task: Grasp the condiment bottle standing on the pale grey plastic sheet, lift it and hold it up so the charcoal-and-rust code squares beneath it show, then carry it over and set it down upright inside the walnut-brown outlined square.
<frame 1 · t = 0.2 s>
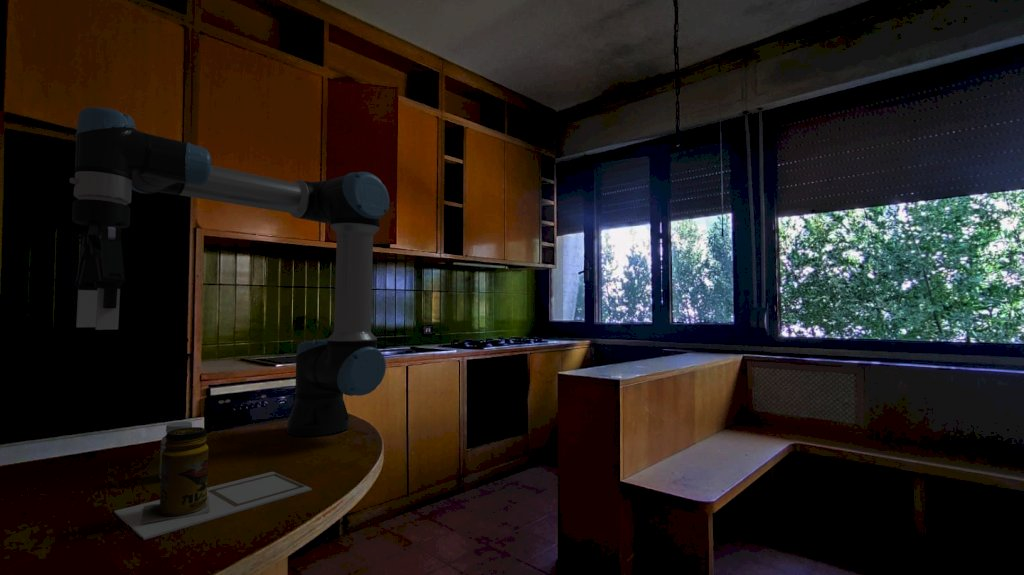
hand: (96, 328, 82), 28 cm above the table, tool pointing down, fingers open, 13 cm apart
condiment: (176, 511, 75), resting on code sheet
supplement bottle: (176, 477, 92), on the table
code sheet: (219, 500, 80), on the table
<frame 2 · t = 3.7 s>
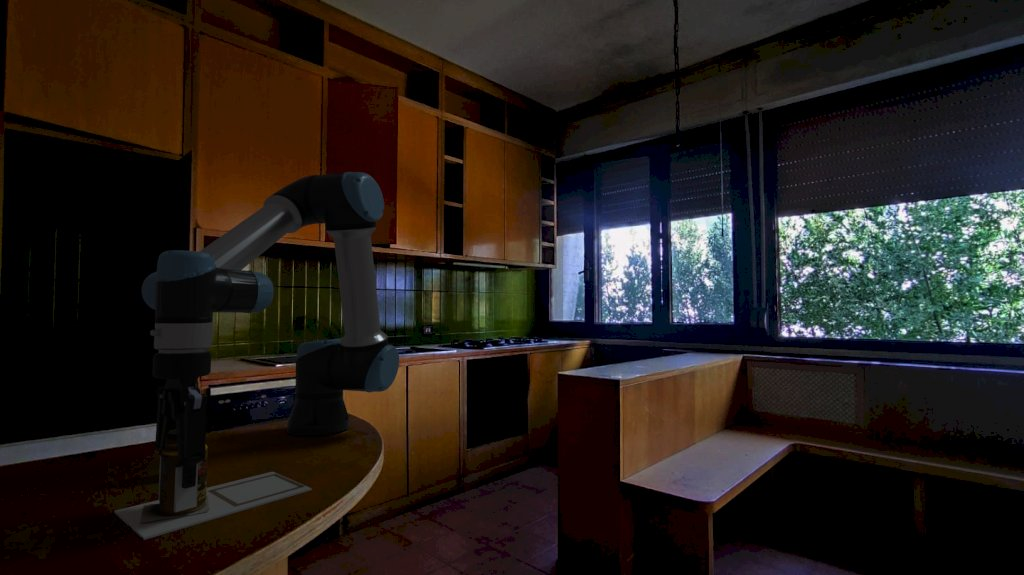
hand: (177, 502, 75), 1 cm above the table, tool pointing down, fingers closed on condiment, 6 cm apart
condiment: (176, 511, 76), resting on code sheet, touching gripper
everything else where it was.
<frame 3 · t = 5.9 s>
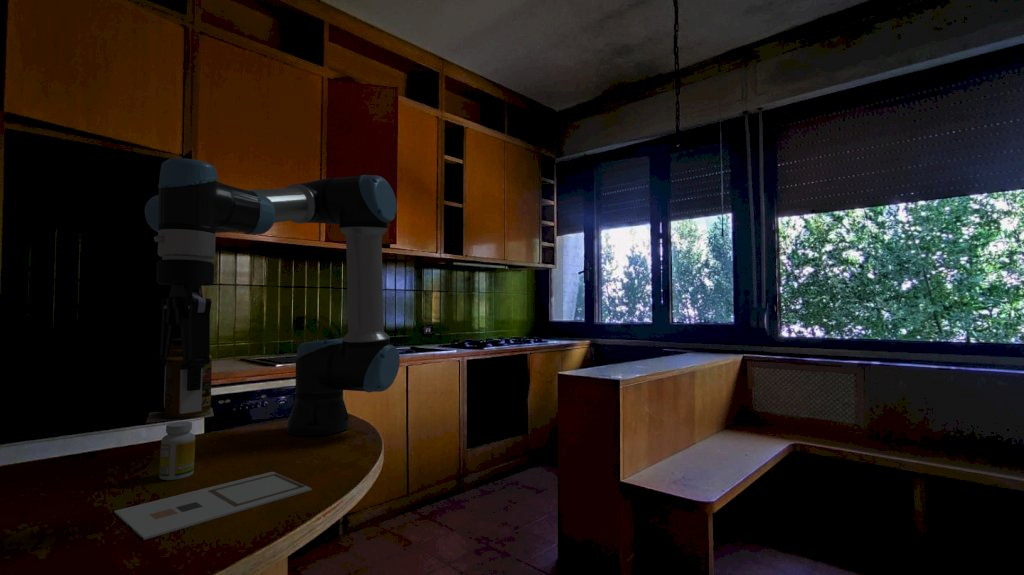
hand: (182, 408, 76), 16 cm above the table, tool pointing down, fingers closed on condiment, 6 cm apart
condiment: (181, 417, 77), point 14 cm above the table, touching gripper
everything else where it was.
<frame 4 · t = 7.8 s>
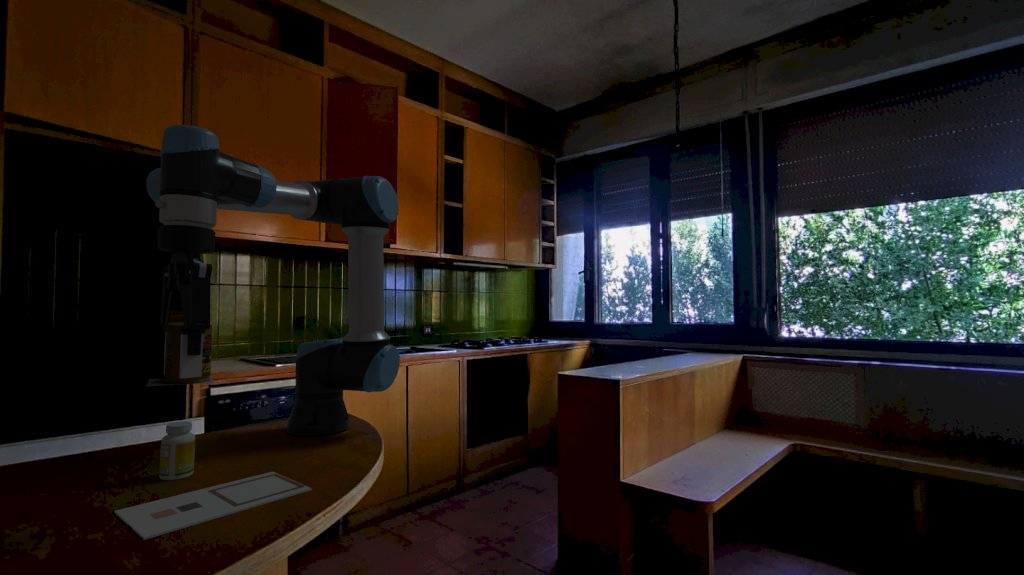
hand: (182, 375, 76), 21 cm above the table, tool pointing down, fingers closed on condiment, 6 cm apart
condiment: (181, 383, 77), point 19 cm above the table, touching gripper
everything else where it was.
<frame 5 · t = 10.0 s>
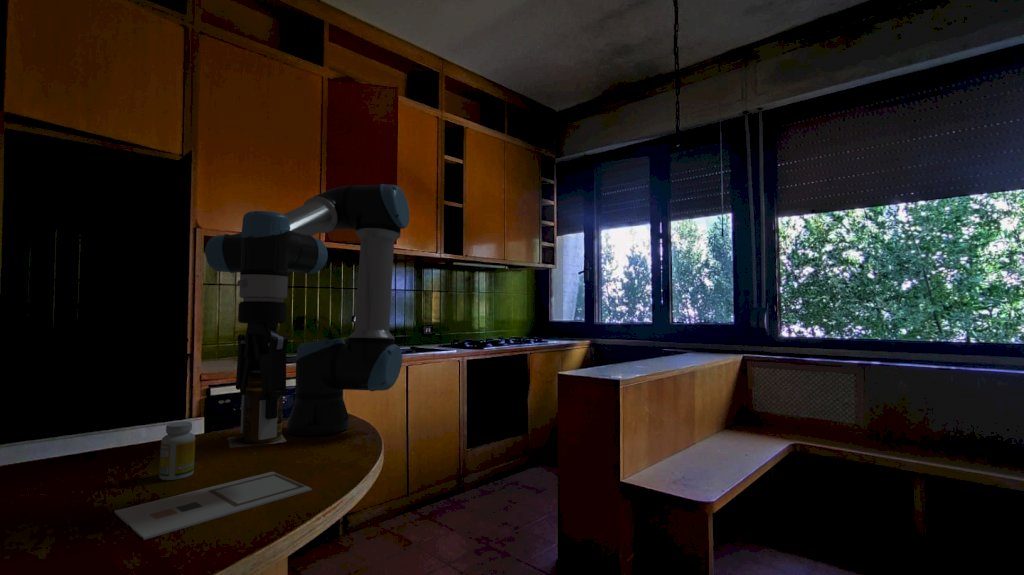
hand: (258, 434, 85), 10 cm above the table, tool pointing down, fingers closed on condiment, 6 cm apart
condiment: (256, 442, 85), point 8 cm above the table, touching gripper
everything else where it was.
when the fingers open (3 cm above the table, at t = 11.7 s): condiment drops 1 cm, resting on code sheet.
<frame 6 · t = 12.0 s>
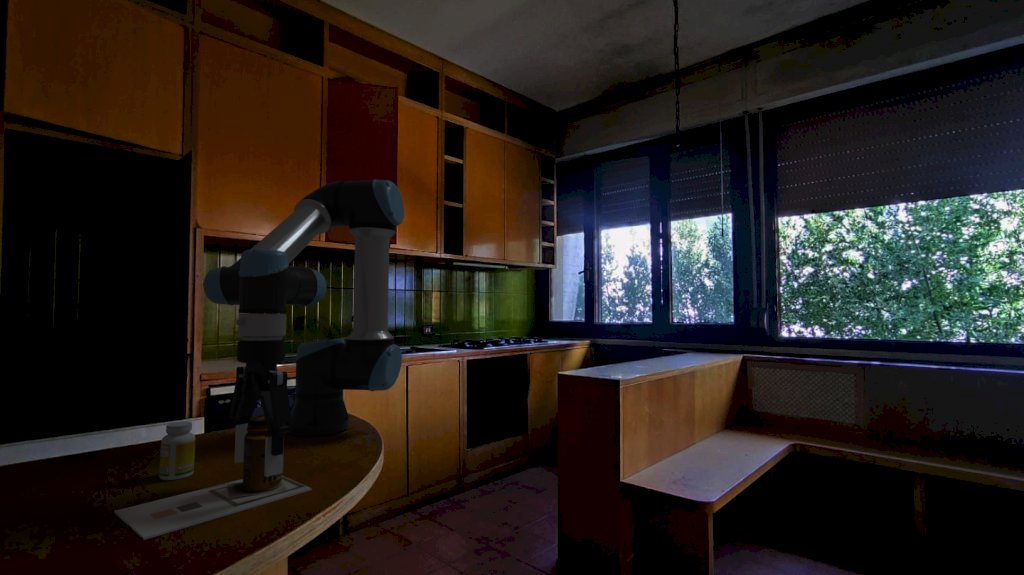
hand: (257, 467, 85), 4 cm above the table, tool pointing down, fingers open, 10 cm apart
condiment: (256, 489, 85), resting on code sheet
everything else where it was.
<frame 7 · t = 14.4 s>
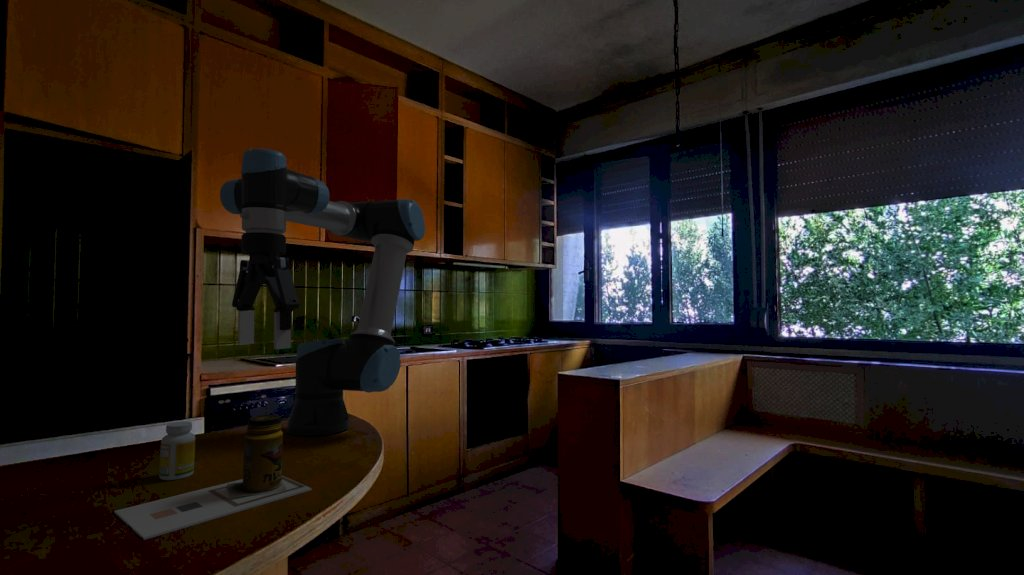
hand: (263, 346, 93), 24 cm above the table, tool pointing down, fingers open, 13 cm apart
nothing on the table moved.
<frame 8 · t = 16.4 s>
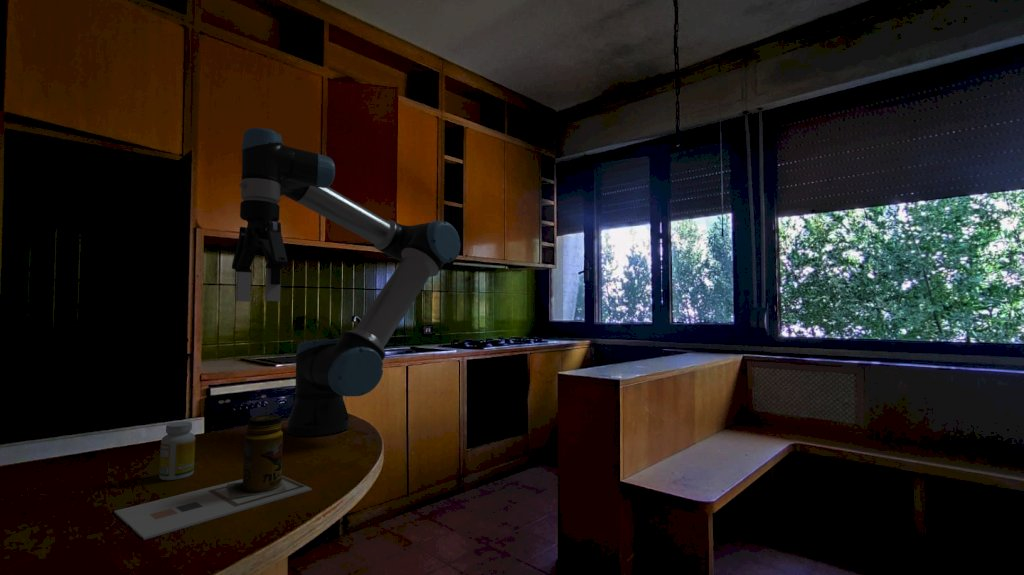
hand: (257, 301, 105), 33 cm above the table, tool pointing down, fingers open, 13 cm apart
nothing on the table moved.
at the end: condiment 0.4 cm from the target spot, resting on code sheet; condiment tilted 0°; the gripper is holding nothing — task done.
